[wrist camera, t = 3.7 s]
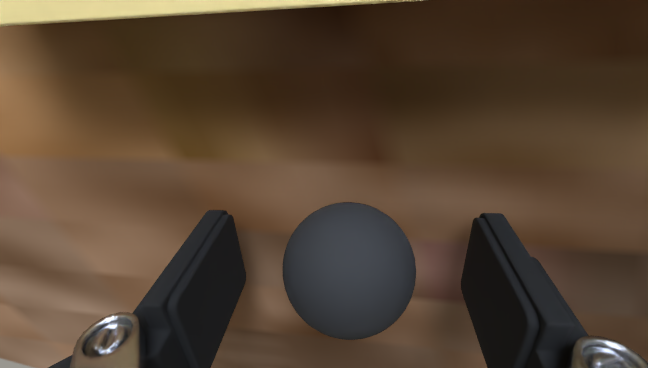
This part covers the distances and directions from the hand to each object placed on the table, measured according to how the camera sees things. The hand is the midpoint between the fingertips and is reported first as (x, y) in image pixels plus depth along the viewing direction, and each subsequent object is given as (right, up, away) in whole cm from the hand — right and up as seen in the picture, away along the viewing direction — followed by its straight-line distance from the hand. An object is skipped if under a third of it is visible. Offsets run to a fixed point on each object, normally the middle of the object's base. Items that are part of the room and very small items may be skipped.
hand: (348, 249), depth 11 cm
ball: (0, 0, -1) cm, 1 cm away
